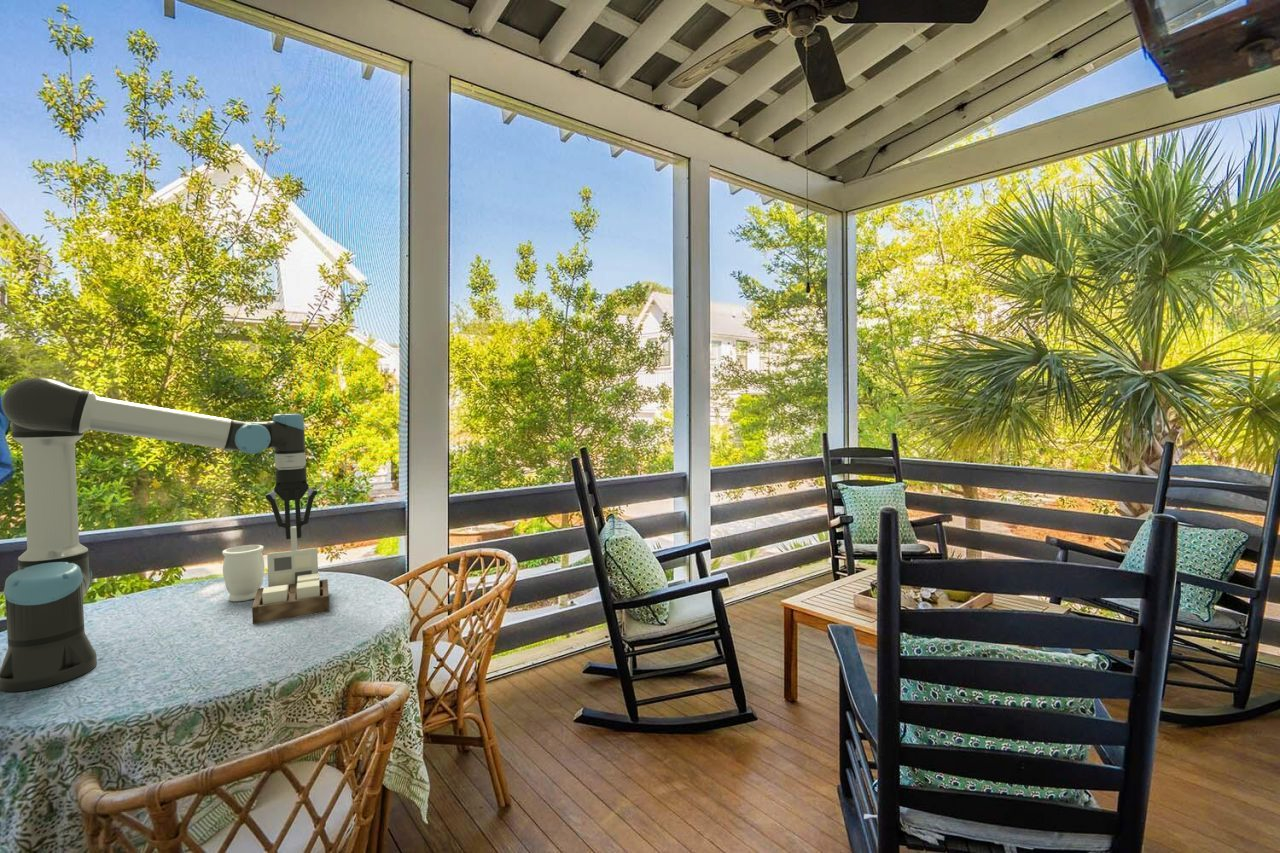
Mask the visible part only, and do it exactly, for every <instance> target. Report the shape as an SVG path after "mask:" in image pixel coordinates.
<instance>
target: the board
mask: <svg viewBox="0 0 1280 853" xmlns="http://www.w3.org/2000/svg"><path fill="white" fill-rule="evenodd" d="M328 581H329V580H328V579H327V578H326V579H325V578H324V579H319V585H320V596H317V597H310V598H303V599H297V583H296V584H289V592H288V600H287V601H283V602H276V603H270V604H263V599H262V593H263V589H264V588H265V587H260V589H258V590H257V593H256V597H255V598H254V600H253V604H252V607H251V610H252V612H251V614H252V624H253V625H254V624H255V625H256V624H261V623H268V622H273V621H279V620H285V619H292V618H298V617H303V616H304V615H305V616H310V614H311V615H315V614H316V613H317V614H322V613H328V612H330V596H329V595H330V594H329V583H328ZM297 616H298V617H297ZM305 616H304V617H305Z"/></svg>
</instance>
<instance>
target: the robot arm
mask: <svg viewBox="0 0 1280 853" xmlns="http://www.w3.org/2000/svg"><path fill="white" fill-rule="evenodd" d="M1 409H2V411H3V414H4V415H5V417H6V418H7V419H8V420H9V421H10V422H11V423H10V424H11V438H12V440H14V441H15V442H17V443H18V444H20V445H21V447H22V462H23V463H22V464H23V466H22V467H23V486H24V490H23V491H24V508H25V509H24V511H25V512H24V513H25V531H26V532H25V533H26V548H27V549H26V550H25V551H24V552H23V553H22V554H20V556H18V558H17V565H18V566H17V570H16V571H14V572H12V573H11V574H9V576H8V577H6V579H5V583H4V587H3V595H4V599H5V601H4V602H5V614H6V616H5V617H6V632H7V651H6V653H5V656H4V659H3V661H2V663H1V667H0V691H3V692H9V693H10V692H12V693H13V692H14V693H15V692H26V691H32V690H37V689H42V688H46V687H51V686H55V685H59V684H61V683H65V682H67V681H70V680H71V681H72V680H73V679H74V680H75V679H77V678H79V677H80V676H83V675H85V674H87V673H89V672H91V671H92V670H93V669H94V668H95V667H96V666H97V665H98V661H97V660H98V658H97V657H98V656H97V653H96V651H95V648H94V647H93V646H92V644H91V641H90V640H89V638H88V636H87V633H86V632H85V619H84V618H85V615H84V614H85V613H84V598H85V596H86V594H87V593H88V591H89V590H90V588H91V584H92V582H93V572H92V569H91V566H90V562H89V559H90V558H89V549H88V547H86V546H85V545H83V544H81V543H80V534H79V531H80V530H79V529H80V528H79V511H78V508H79V507H78V490H77V489H78V487H77V466H76V465H77V464H76V462H77V461H76V443H77V442H78V441H79V440H81V439H82V438H83V437H84V433H85V432H88V431H97V432H102V433H103V432H104V433H110V434H111V433H112V434H117V435H118V434H119V435H125V436H130V437H131V436H132V437H138V438H145V439H146V438H147V439H153V440H160V441H165V442H174V443H175V442H176V443H180V444H181V443H182V444H187V445H188V444H189V445H195V446H203V447H210V448H216V449H223V450H225V451H236V452H243V453H245V454H250V455H252V454H253V455H254V454H259V453H261V452H263V451H265V450H266V449H274V465H275V466H274V467H275V469H276V470H275V475H274V476H275V486H274V487H273V490H272V491H270V492H269V493H266V494H265V498H266V500H267V501H268V502H269V504H270V506H271V509H272V512H273V515H274V518H275V521H276V523H277V526H278V527H279V528H283V529H285V539H286V540H290V549H291V550H290V551H296V550H298V539H300V538H301V537H302V527H303V526H304V525H307V524H308V523H309V520H310V516H311V512H312V507H313V502H314V499H315V497H316V495H318V490H317V489H314V488H311V487H310V486H309V484H308V481H307V468H306V467H305V466H306V464H307V461H306V459H307V457H306V438H305V431H306V429H305V423H304V417H303V415H302V414H300V413H276V414H273V416H272V420H269V421H268V420H267V421H244V420H243V421H242V420H241V421H240V420H237V419H230V418H225V417H218V416H212V415H207V414H201V413H195V412H188V411H183V410H177V409H171V408H165V407H160V406H154V405H148V404H143V403H136V402H131V401H125V400H120V399H114V398H107V397H103V396H101V397H100V396H98V395H97V394H96V393H95V392H94V391H93V390H89V389H88V390H87V389H82V388H78V387H75V386H73V385H71V384H70V383H67V382H66V381H63V380H59V379H50V378H45V377H35V378H34V377H33V378H26V379H23V380H20V381H18V382H15V383H14V384H12V385H11V386H10V387H8V388H7V389H6V391H5V392H4V394H3V395H2V399H1ZM306 493H307V497H308V498H307V502H306V507H305V511H304V515H303V518H301V499H302V498H303V497H304V495H305V494H306ZM277 495H278V497H279V498H280V499H281V500H282V501H284V521H283V519H282V516H281V513H280V510H279V507H278V505H277V501H276V499H277ZM290 501H294V508H295V509H294V510H295V511H294V512H295V526H294V525H293V526H291V508H290V507H291V506H290Z"/></svg>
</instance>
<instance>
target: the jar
mask: <svg viewBox="0 0 1280 853" xmlns="http://www.w3.org/2000/svg"><path fill="white" fill-rule="evenodd" d="M264 549H265V548H264V545H261V544H246V545H237V546H232V547H228V548H225V549H224V550H222V555H223V557H224V558H223V562H222V575H223V579H224V584H225V588H226V591H227V592H228V593H229V596H228V597H227V600H228V601H229V602H245V601H251V600H253V599H254V600H255V597H256V593H257V590H258V589H260V588H262V584H263V581H264V575H265V574H264V573H265V559H264V555H263V550H264Z"/></svg>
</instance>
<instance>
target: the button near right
mask: <svg viewBox="0 0 1280 853" xmlns="http://www.w3.org/2000/svg"><path fill="white" fill-rule="evenodd" d="M319 580H320V579H319ZM319 580H317V581H309V582H302V583H297V599H303V598H310V597H317V596H320V586H319Z"/></svg>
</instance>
